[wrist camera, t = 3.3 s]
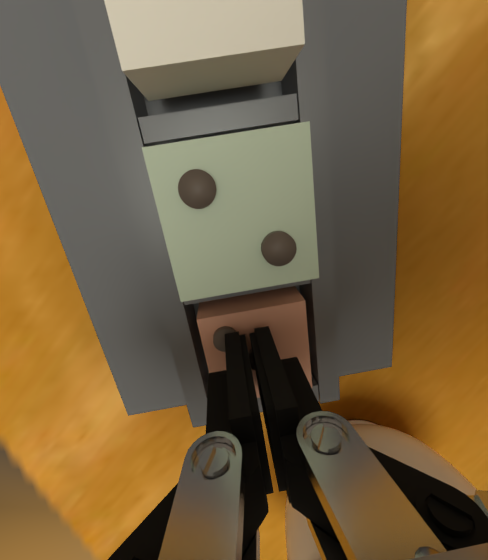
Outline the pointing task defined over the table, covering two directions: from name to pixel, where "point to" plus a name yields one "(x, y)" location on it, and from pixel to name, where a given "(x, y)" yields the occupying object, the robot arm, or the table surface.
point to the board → (200, 124)
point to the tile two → (237, 209)
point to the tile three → (256, 326)
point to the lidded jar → (393, 444)
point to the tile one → (204, 43)
